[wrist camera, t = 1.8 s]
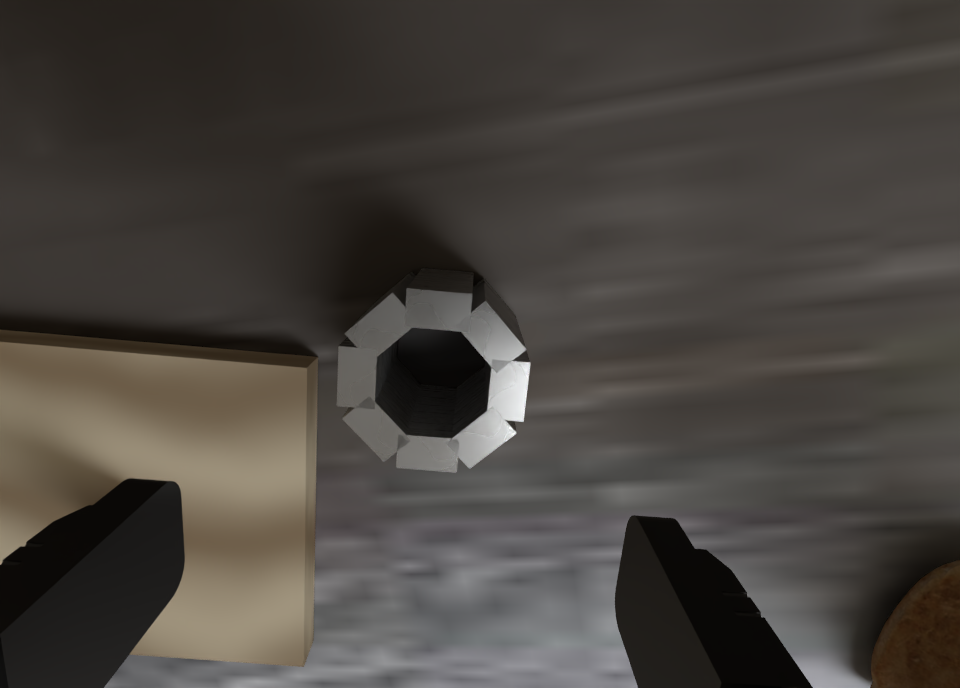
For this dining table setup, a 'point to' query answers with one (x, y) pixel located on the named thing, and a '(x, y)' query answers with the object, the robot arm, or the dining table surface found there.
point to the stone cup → (922, 635)
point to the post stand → (176, 474)
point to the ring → (428, 408)
